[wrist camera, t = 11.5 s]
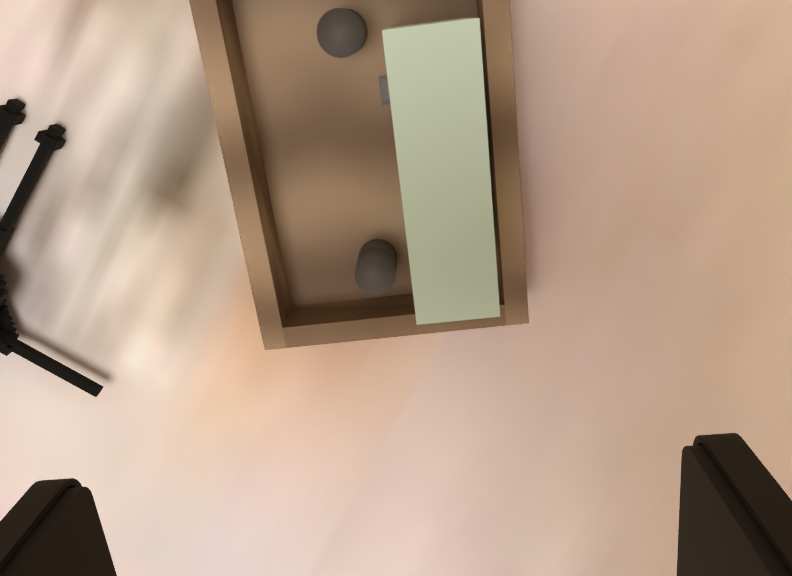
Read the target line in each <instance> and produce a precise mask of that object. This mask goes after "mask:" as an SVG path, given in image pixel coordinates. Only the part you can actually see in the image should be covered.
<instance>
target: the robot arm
mask: <svg viewBox="0 0 792 576" xmlns="http://www.w3.org/2000/svg"><path fill="white" fill-rule="evenodd" d="M0 576H117V575H116V572H115V568H114V565H113V562H112V558H111V555H110V552H109V548H108V545H107V542H106V539H105V535H104V532H103V529H102V525H101V522H100V519H99V515H98V512H97V509H96V506H95V502H94V499H93V496H92V493H91V491H90V490H89V489H88V488H87V487H82V486H81V484H80V482H79V481H78V480H76V479H73V478H71V479H57V480H42V481H38V482H36V483H34V484H33V485H32V486H31V487H30V488H29V489H28V490H27V492H26V493H25V494H24V495H23V496H22V497H21V498H20V500H19V501H18V502H17V503H16V504H15V505H14V506H13V508H12V509H11V510H10V511H9V512H8V513H7V514H6V516H5V517H4V518H3V519H2V520H1V521H0ZM677 576H792V500H791V499H790V498H789V497H788V495H787V494H786V493H785V492H784V490H783V489H782V488H781V487H780V485H779V484H778V483H777V481H776V480H775V479H774V478H773V476H772V475H771V474H770V473H769V471H768V470H767V469H766V468H765V466H764V465H763V464H762V463H761V461H760V460H759V459H758V458H757V456H756V455H755V454H754V453H753V451H752V450H751V449H750V448H749V446H748V445H747V444H746V442H745V441H744V440H743V439H742V437H740V436H739V435H738V434H736V433H728V434H713V435H699V436H697V437H695V440H694V443H693V446H685V447H684V448H683V451H682V463H681V487H680V511H679V535H678V560H677Z"/></svg>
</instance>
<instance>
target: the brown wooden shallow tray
mask: <svg viewBox="0 0 792 576" xmlns="http://www.w3.org/2000/svg"><path fill="white" fill-rule="evenodd" d="M189 1H190V6H191V11H192V15H193V20H194V24H195V29H196V34H197V38H198V43H199V48H200V52H201V57H202V61H203V66H204V71H205V75H206V80H207V85H208V89H209V94H210V98H211V103H212V108H213V112H214V117H215V122H216V126H217V131H218V136H219V140H220V145H221V149H222V154H223V159H224V163H225V168H226V173H227V177H228V182H229V186H230V191H231V196H232V200H233V205H234V210H235V214H236V219H237V223H238V228H239V233H240V237H241V242H242V247H243V251H244V256H245V260H246V265H247V270H248V274H249V279H250V284H251V288H252V293H253V298H254V302H255V307H256V311H257V316H258V321H259V325H260V330H261V335H262V339H263V344H264V348H265V350H270V349H280V348H289V347H299V346H309V345H319V344H328V343H338V342H348V341H358V340H368V339H377V338H387V337H397V336H407V335H416V334H426V333H436V332H446V331H455V330H465V329H475V328H485V327H495V326H504V325H514V324H524V323H529V318H528V302H527V285H526V268H525V252H524V235H523V218H522V202H521V185H520V168H519V152H518V135H517V119H516V102H515V85H514V69H513V52H512V35H511V19H510V2H509V0H189ZM455 18H479V19H480V33H481V48H482V62H483V76H484V91H485V105H486V119H487V134H488V148H489V162H490V177H491V191H492V205H493V220H494V234H495V249H496V263H497V277H498V292H499V306H500V317H492V318H481V319H471V320H461V321H451V322H440V323H430V324H420V325H417V324H416V315H415V307H414V298H413V290H412V281H411V273H410V264H409V256H408V248H407V239H406V231H405V222H404V214H403V205H402V197H401V188H400V180H399V172H398V163H397V155H396V146H395V138H394V129H393V121H392V112H391V104H388V105H382V101H381V95H380V87H379V76H382V75H387V70H386V62H385V53H384V45H383V36H382V30H383V29H386V28H388V27H392V26H400V25H408V24H416V23H424V22H432V21H440V20H447V19H455Z"/></svg>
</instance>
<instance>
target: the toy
mask: <svg viewBox="0 0 792 576" xmlns="http://www.w3.org/2000/svg"><path fill="white" fill-rule="evenodd" d="M25 105H26V104H24V103H23V102H21V101H19V100H18V99H10V100H8V101H7V103H6V105H0V149H1V147H2V145H3V143H4V141H5V139H6V137H7V135H8V133H9V131H10V129H11V127H12V125H18V124H21V123H22V121H23V119H24V117H25V115H23V114H22V113H20V112H19V111H20V109H24V107H25ZM65 131H66V129H65V128H63V127H61V126H60V125H58V124H54V125H50V126H49V128H48V130H43V131H38V133H37V135H36V137H35V139H34V140H36V141H37V142H39V143H40V145H39V147H38V149H37V151H36V153H35V155H34V157H33V159H32V161H31V163H30V165H29V167H28V169H27V171H26V173H25V175H24V177H23V179H22V181H21V183H20V185H19V187H18V189H17V191H16V193H15V195H14V196H13V198H12V200H11V202H10V204H9V206H8V208H7V210H6V212H5V214H4V216H3V218H2V220H1V222H0V255H1V253H2V251H3V249H4V247H5V245H6V243H7V242H8V240H9V238H10V236H11V234H12V232H13V230H14V227H13V226H14V224H15V223H16V221H17V219H18V217H19V215H20V213H21V211H22V209H23V207H24V205H25V203H26V201H27V199H28V197H29V195H30V193H31V191H32V190H33V188H34V186H35V184H36V182H37V180H38V178H39V176H40V174H41V172H42V170H43V168H44V166H45V164H46V162H47V160H48V159H49V157H50V155H51V153H52V151H54V150H58V149H61V148H62V146H63V144H64V142H65V141H66V140H64V139H62V138H61V137H60V135H61V134H64V133H65ZM4 277H5V276H4V275H2V274H0V353H2V354H4V355H6V356H7V355H8V354H10V353H11V352H14V353H16V354H18V355H20V356H22V357H23V358H25V359H27V360H29V361H31V362H33V363H34V364H36V365H38V366H40V367H42V368H44V369H45V370H47V371H49V372H51V373H53V374H55V375H56V376H58V377H60V378H62V379H64V380H66V381H67V382H69V383H71V384H73V385H75V386H77V387H78V388H80V389H82V390H84V391H86V392H88V393H89V394H91V395H93V396H95V397H97V396H98V394H99V393H100V392H101V390H102V388H103V386H101V385H99V384H98V383H96V382H94V381H92V380H90V379H88V378H87V377H85V376H83V375H81V374H79V373H78V372H76V371H74V370H72V369H70V368H68V367H67V366H65V365H63V364H61V363H59V362H58V361H56V360H54V359H52V358H50V357H48V356H47V355H45V354H43V353H41V352H39V351H37V350H36V349H34V348H32V347H30V346H28V345H27V344H25V343H23V342H21V341H19V340H17V338H18V336H19V334H17V333H15V332H16V330H17V329H16V328H14V327H13V326H14V324H15V323H13V322H11V320H12V317H10V316H9V314H10V312H9V311H8V310H6V309H7V307H8V306H7V305H5V304H4V303H5V301H6V300H4V298H5V296H6V294H7V289H5V286H6V284H7V282H6V281H4V280H3V279H4Z"/></svg>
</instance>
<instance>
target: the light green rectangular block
mask: <svg viewBox="0 0 792 576" xmlns="http://www.w3.org/2000/svg"><path fill="white" fill-rule="evenodd" d="M382 36H383V45H384V53H385V62H386V70H387V75H382V76H379V87H380V95H381V101H382V105H388V104H391V112H392V121H393V129H394V138H395V146H396V155H397V163H398V172H399V180H400V188H401V197H402V205H403V214H404V222H405V231H406V239H407V248H408V256H409V264H410V273H411V281H412V290H413V298H414V307H415V315H416V324H417V325H420V324H430V323H440V322H451V321H461V320H471V319H481V318H492V317H500V306H499V292H498V277H497V263H496V249H495V234H494V220H493V205H492V191H491V177H490V162H489V148H488V134H487V119H486V105H485V91H484V76H483V62H482V48H481V33H480V19H479V18H455V19H447V20H440V21H432V22H424V23H416V24H408V25H400V26H392V27H388V28H386V29H383V30H382Z"/></svg>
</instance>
